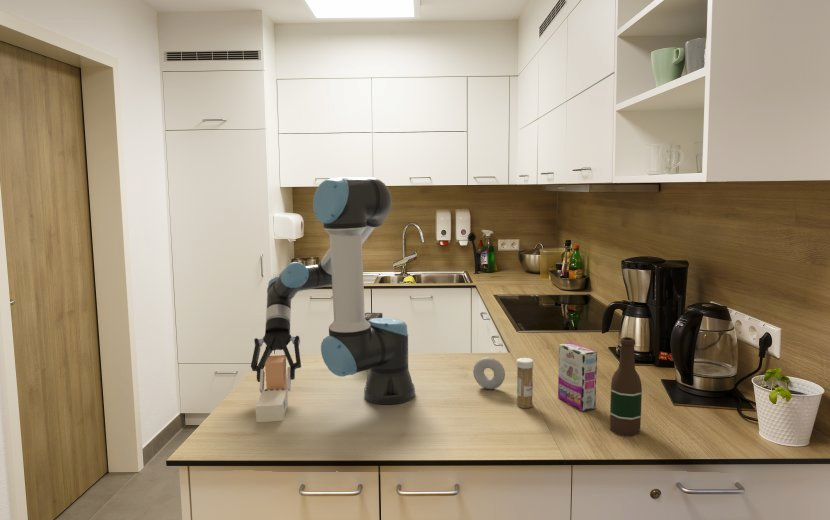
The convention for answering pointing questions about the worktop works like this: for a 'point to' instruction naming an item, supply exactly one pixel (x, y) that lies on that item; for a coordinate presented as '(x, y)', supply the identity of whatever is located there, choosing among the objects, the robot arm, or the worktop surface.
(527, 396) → the sprinkles bottle
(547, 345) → the worktop surface
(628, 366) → the beer bottle
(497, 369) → the donut
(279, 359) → the brown box
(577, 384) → the candy bar box
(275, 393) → the white button box
